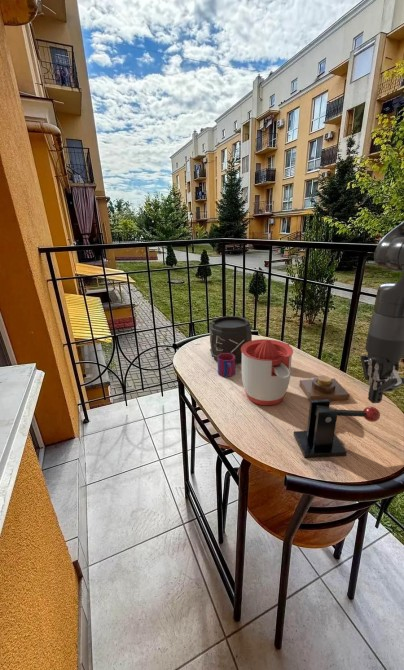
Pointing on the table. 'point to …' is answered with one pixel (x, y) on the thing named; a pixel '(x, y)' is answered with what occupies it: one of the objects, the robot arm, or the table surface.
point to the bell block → (323, 390)
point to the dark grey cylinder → (229, 336)
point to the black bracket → (320, 433)
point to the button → (324, 380)
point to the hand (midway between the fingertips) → (373, 401)
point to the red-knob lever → (355, 412)
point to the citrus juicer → (266, 370)
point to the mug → (226, 364)
